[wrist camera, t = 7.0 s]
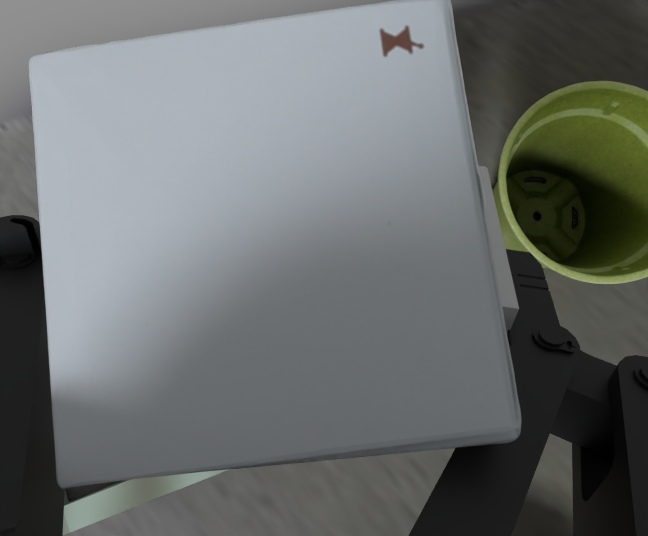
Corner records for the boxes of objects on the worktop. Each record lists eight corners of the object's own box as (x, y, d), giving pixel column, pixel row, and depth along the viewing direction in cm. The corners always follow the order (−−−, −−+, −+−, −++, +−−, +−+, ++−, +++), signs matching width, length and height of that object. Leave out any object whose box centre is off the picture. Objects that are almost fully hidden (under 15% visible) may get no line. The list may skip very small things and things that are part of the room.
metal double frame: (384, 157, 33) (385, 153, 32) (473, 370, 31) (477, 371, 30) (-17, 312, 32) (-25, 312, 32) (52, 536, 31) (45, 542, 30)
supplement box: (210, 209, 21) (15, 34, 9) (394, 186, 21) (465, -28, 8) (227, 395, 20) (37, 500, 8) (419, 373, 20) (541, 444, 8)
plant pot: (616, 296, 32) (720, 284, 23) (458, 295, 32) (503, 282, 23) (607, 145, 33) (704, 79, 24) (454, 146, 33) (496, 81, 24)
